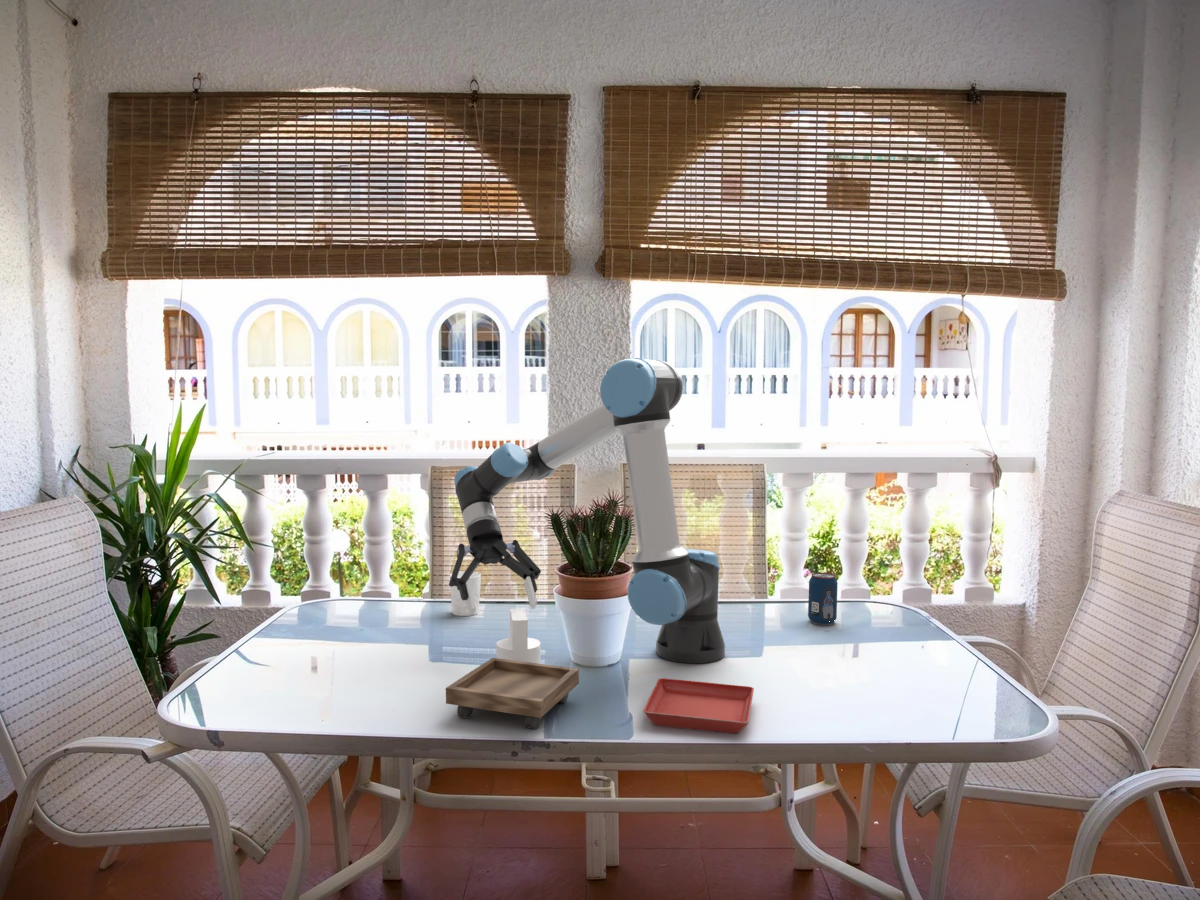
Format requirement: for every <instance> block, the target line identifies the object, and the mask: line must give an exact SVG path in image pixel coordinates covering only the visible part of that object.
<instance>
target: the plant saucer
mask: <svg viewBox="0 0 1200 900" xmlns="http://www.w3.org/2000/svg"><path fill="white" fill-rule="evenodd" d="M754 690H755V688H754V687H752V686H747V685H746V686H745V685H738V684H737V685H735V684H727V683H726V684H725V683H717V682H716V683H715V682H708V681H707V682H706V681H705V682H704V681H695V680H686V679H685V680H684V679H677V678H676V679H673V678H665V677H664V678H663V677H662V678H661V677H660V678H658V679H657V681H656V683H655V685H654V686H653V689H652V691H651V693H650V695H649V697H648V700H647V702H646V704H645V706H644V708H643V711H642V712H643V713H644V714H645V715H646V717H647V718H648V719H649V721H651V722H652V723H653V724H654V725H655V726H658V727H666V728H669V727H670V728H677V729H678V728H680V729H686V730H687V729H688V730H697V731H708V732H715V733H724V734H725V733H728V734H739V733H741V731H742V730H743V729H744V728H745V727H746V726H747V725H748V724H749V722H750V716H751V710H752V709H751V708H752V703H753V696H754Z"/></svg>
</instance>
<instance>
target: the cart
mask: <svg viewBox="0 0 1200 900" xmlns="http://www.w3.org/2000/svg"><path fill="white" fill-rule="evenodd" d="M579 684H580V668H575V667H568V666H561V665H551V664H544V663H540V664H537V663H529V662H521V661H513V660H506V659H498V658H496V657H492V658H489V659H488V660H486V661H485V662H484V663H482V664H480V665H479V666H477V667H476V668H474V669H473V670H471V671H469V672H468V673H467V674H465V675H464V676H462V677H461V678H459V679H457V680H456V681H454V682H453V683H451V684H450V685H448V686H447V687H445V705H451V706H452V705H453V706H457V712H456V713H457V716H458V718H463V719H470V718H471V717H472V715H473V712H474V709H480V710H487V711H492V712H493V711H494V712H500V713H507V714H513V715H518V716H519V715H520V716H525V717H524V724H525V727H526V728H529V729H534V730H536V729H538V728H539V727H540V724H541V720H542V719H541V718H543V716H545V714H547V713H548V712H549V711H551V709H552V708H553V707H554V706H556V705H557V704H558V703H562V704H565V703H566V702H567V700H568V698H569V693H570V692H571V691H572V690H573V689H574V688H575V687H577V686H578V685H579Z"/></svg>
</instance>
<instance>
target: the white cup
mask: <svg viewBox="0 0 1200 900" xmlns="http://www.w3.org/2000/svg"><path fill="white" fill-rule="evenodd" d="M465 571H466V570H464V571H459V573H458V576H457V578H461V577H462V575H463V574H464V572H465ZM481 575H482V574H481V573H480V572H477V571H474V572H473V573H472V575H471V576H470V578H469V579H468V581H467V582H470V586H471V590H472V594H473V598H474V602H475V606H476V610H475V612H474V615H473V616H476V615H477V614H479V613H480V612H479V611H480V601H481V600H480V598H481V579H482V576H481ZM451 576H452V573H450V574H449V580H450V579H451ZM449 587H450V590H449V591H450V601H451V602H450V603H451V612H452V614H453V615H454V616H458V617H468V616H470V615H469V610H468V606H467V602H466V600H462V599H461V595H460V591H459V590H458V589H457V586H453V587H451V586H449ZM470 617H471V616H470Z"/></svg>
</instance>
